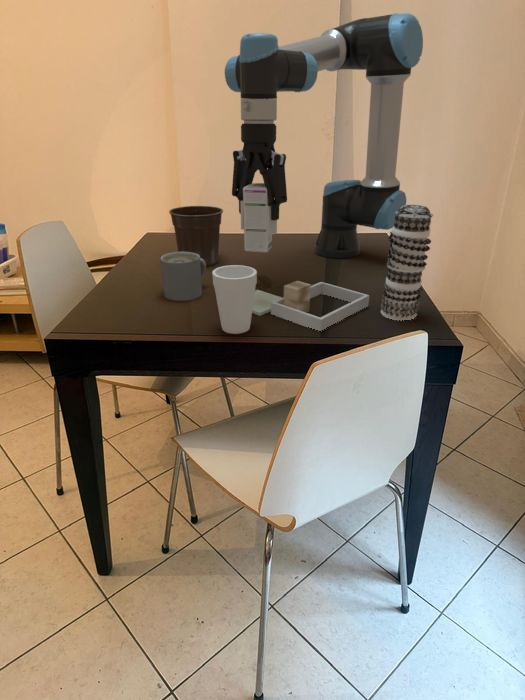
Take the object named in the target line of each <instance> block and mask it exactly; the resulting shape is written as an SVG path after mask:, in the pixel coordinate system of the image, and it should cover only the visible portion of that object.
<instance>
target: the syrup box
mask: <svg viewBox="0 0 525 700" xmlns="http://www.w3.org/2000/svg"><path fill="white" fill-rule="evenodd" d="M268 204H269V199H268V195H267V188H266V187H265V184H264V182H254V183H253V182H252V184H249V185H247V186H245V187H244V188H243V210H244V230H243V239H244V241H243V244H244V251H245V252H252V253H254V252H255V253H268V252H269V251H270V250H271V248H272V247H273V241H274V240H273V237H274V236H273V235H274V234H273V235H266V228H267V205H268Z"/></svg>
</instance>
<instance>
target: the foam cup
mask: <svg viewBox="0 0 525 700" xmlns="http://www.w3.org/2000/svg"><path fill="white" fill-rule="evenodd" d="M257 274H258V271H257V269H255V268H254V267H251V266H248V265H247V266H246V265H241V264H239V265H238V264H233V265H232V264H231V265H223V266H219V267H216V268H215V269H213V270H212V285H213V287H214V291H215V296H216V298H215V299H216V304H217V308H218V314H219V320H220V321H219V322H220V325H221V330H222V331H224V333H227V334H233V335H235V334H236V335H238V334H243V333H246V332H248V331H249V330H250V329H251V328H250V327H251V322H252V314H253V313H252V309H253V301H254V294H255V291H256V285H257V284H258V279H257V278H258V275H257Z"/></svg>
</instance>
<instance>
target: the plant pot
mask: <svg viewBox="0 0 525 700" xmlns="http://www.w3.org/2000/svg"><path fill="white" fill-rule="evenodd" d="M168 212H169V214H170V216H171V223H172V225H173V227H174V234H175V240H176V245H177V252H192V253H196V254H198V255H199V256H200V258H202V259H203V260H204V261H205V263H206V267H209V266H213V265H216V264H217V263H218V262H219V246H220V243H219V242H220V230H221V228H220V227H221V224H222V216H223V215H222V214H223V213H224V209H222V208H220V207H217V206H212V205H210V206H209V205H187V206H185V205H184V206H179V207H174V208H172V209H169V211H168Z"/></svg>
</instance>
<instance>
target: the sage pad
mask: <svg viewBox="0 0 525 700" xmlns="http://www.w3.org/2000/svg"><path fill="white" fill-rule="evenodd" d="M281 298H283V297H281V296H278V295H275V294H272V293H269V292H265V291H263V290H260V289H255V294H254V301H253V309H252V314H255V315H256V316H259V317H261V316H264V315H265V313H266V314H268V313H269V312H270V313H271V302H273V301H276V300H278V299H281Z"/></svg>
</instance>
